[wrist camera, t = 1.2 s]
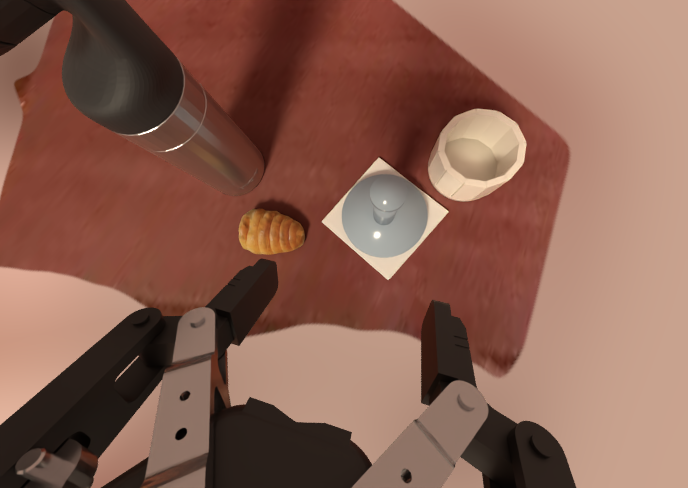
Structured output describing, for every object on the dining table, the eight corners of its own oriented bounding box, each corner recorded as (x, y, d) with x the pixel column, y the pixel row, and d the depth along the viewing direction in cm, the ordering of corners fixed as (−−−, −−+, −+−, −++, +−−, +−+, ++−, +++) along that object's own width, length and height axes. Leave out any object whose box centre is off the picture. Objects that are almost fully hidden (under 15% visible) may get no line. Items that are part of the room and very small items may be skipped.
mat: (321, 222, 37) (321, 221, 37) (378, 158, 38) (378, 157, 37) (388, 280, 35) (388, 280, 35) (447, 212, 35) (448, 211, 35)
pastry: (309, 216, 38) (302, 210, 34) (303, 260, 37) (295, 258, 33) (252, 210, 39) (239, 203, 35) (244, 252, 38) (231, 250, 35)
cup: (413, 173, 37) (421, 153, 31) (457, 123, 37) (473, 94, 31) (469, 215, 35) (488, 203, 29) (514, 163, 35) (543, 140, 29)
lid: (326, 221, 37) (307, 198, 26) (379, 161, 37) (382, 115, 26) (387, 275, 35) (395, 274, 24) (443, 212, 35) (475, 184, 24)
